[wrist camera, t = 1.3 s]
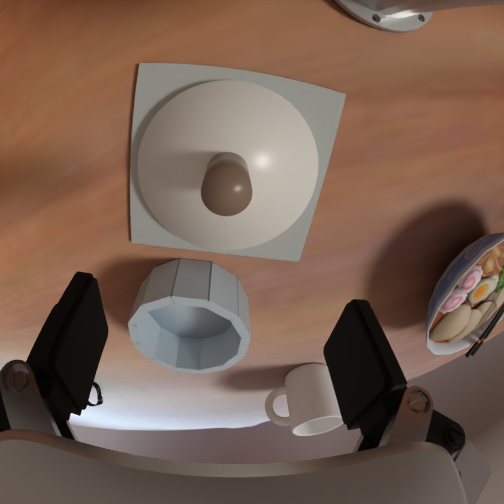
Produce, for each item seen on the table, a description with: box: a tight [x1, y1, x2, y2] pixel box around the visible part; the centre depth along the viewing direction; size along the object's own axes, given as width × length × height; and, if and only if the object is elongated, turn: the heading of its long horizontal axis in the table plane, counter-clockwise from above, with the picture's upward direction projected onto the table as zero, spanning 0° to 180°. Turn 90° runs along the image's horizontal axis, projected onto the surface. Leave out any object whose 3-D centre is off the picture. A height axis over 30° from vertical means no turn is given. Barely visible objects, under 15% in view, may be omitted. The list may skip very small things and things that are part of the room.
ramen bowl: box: [426, 233, 504, 357], centre depth 31 cm, size 25×23×8 cm
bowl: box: [128, 258, 251, 374], centre depth 31 cm, size 13×13×6 cm
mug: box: [265, 363, 343, 436], centre depth 41 cm, size 12×8×10 cm
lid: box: [137, 80, 318, 250], centre depth 22 cm, size 16×16×6 cm
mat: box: [130, 63, 346, 262], centre depth 25 cm, size 18×18×1 cm
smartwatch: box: [87, 382, 103, 406], centre depth 43 cm, size 4×5×5 cm
